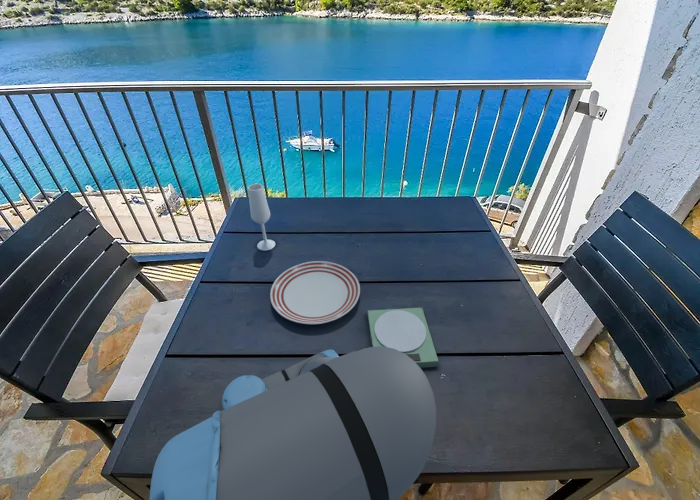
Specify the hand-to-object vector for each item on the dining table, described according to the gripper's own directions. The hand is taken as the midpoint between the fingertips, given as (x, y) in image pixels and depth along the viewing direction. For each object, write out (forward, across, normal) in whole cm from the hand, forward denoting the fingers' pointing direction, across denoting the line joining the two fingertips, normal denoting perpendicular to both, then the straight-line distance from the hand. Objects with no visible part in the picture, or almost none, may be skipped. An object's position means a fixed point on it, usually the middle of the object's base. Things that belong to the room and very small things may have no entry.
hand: (409, 406), depth 73 cm
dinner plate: (-15, -43, -9) cm, 47 cm away
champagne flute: (-31, -72, -9) cm, 79 cm away
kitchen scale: (+6, -22, -8) cm, 25 cm away
